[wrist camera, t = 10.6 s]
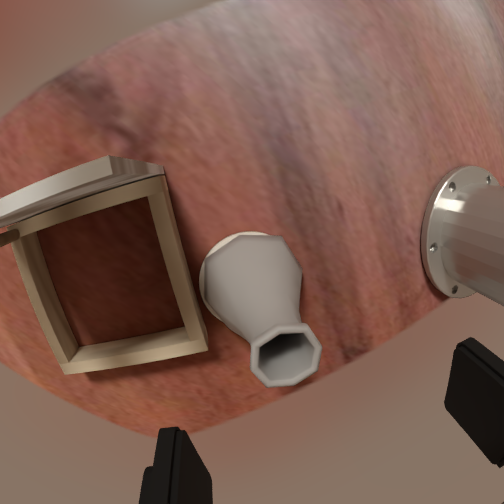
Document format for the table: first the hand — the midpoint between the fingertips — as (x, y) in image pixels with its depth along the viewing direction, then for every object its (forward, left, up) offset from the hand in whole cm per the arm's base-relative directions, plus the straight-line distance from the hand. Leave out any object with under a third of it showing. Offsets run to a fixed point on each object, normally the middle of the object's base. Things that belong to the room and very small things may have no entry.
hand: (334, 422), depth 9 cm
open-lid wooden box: (+11, -3, -15) cm, 18 cm away
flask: (+1, 0, -14) cm, 14 cm away
